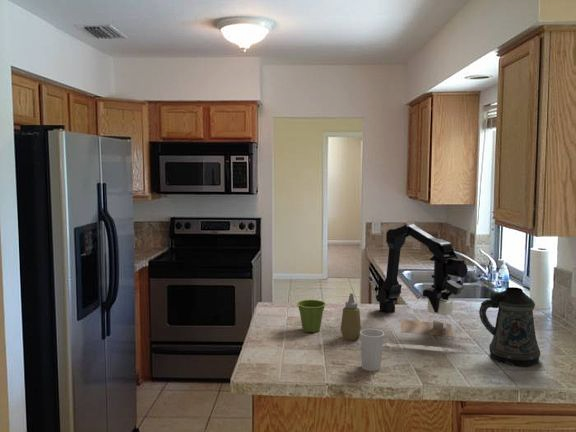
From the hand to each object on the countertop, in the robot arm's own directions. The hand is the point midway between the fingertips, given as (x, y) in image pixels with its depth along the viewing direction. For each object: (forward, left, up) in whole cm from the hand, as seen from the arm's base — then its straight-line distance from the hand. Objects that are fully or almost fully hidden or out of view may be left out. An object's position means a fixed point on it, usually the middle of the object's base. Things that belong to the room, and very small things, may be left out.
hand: (439, 310), depth 202 cm
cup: (-24, -42, -9) cm, 49 cm away
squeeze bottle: (-34, -16, -9) cm, 39 cm away
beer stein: (+23, -22, -9) cm, 33 cm away
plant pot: (-51, -10, -9) cm, 53 cm away
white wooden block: (0, 0, -8) cm, 8 cm away
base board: (-5, 0, -9) cm, 10 cm away
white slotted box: (0, 0, -1) cm, 1 cm away
